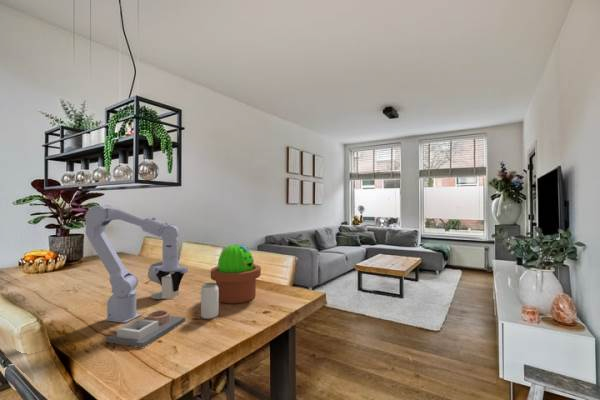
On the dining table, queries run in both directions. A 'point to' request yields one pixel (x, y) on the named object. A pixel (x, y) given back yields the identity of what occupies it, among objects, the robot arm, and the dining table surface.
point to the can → (209, 301)
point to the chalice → (156, 279)
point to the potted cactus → (236, 275)
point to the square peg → (168, 288)
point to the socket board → (146, 329)
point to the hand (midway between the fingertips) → (170, 290)
